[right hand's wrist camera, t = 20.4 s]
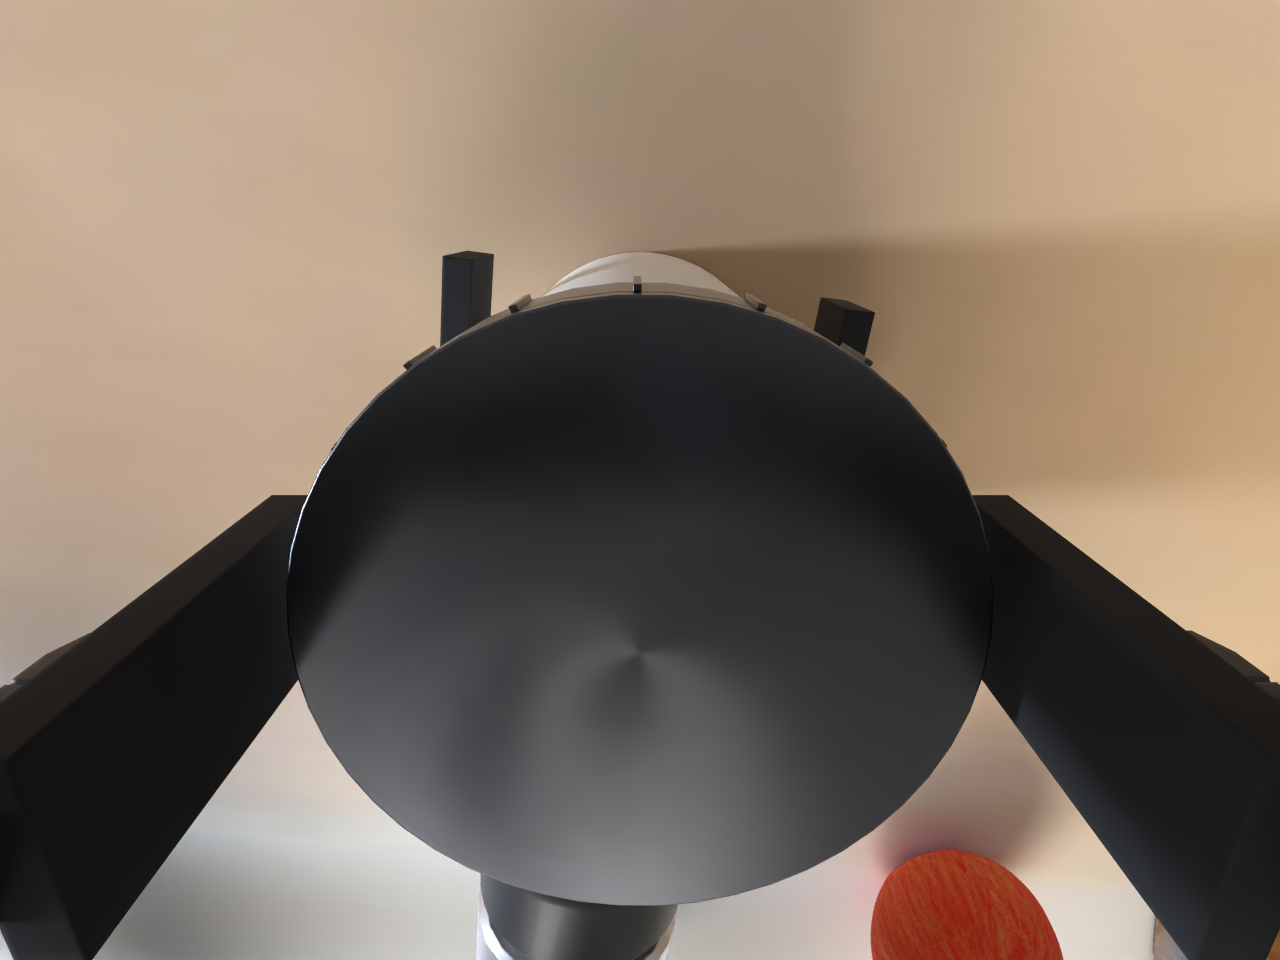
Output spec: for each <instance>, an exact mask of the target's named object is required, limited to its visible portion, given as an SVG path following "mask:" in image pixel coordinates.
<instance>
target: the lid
mask: <svg viewBox="0 0 1280 960" xmlns="http://www.w3.org/2000/svg"><path fill="white" fill-rule="evenodd" d="M872 364H873V362H872V361H871V360H869V359H868V358H866V357H865V356H863V355H862V354H860V353H859V352H857V351H855V350H854V349H852V348H851V347H849V346H847V345H846V344H844V343H842V344H841V345H840V347H839V346H837V345H836V344H834V343H833V342H831V341H830V340H828V339H826V338H825V337H823V336H822V335H820V334H818V333H817V332H815V331H814V330H812V329H810V328H809V327H807V326H806V325H804V324H802V323H801V322H799V321H798V320H795V319H793V318H791V317H789V316H786V315H784V314H782V313H780V312H777V311H775V310H773V309H771V308H768V307H767V305H766V304H765V303H763V302H762V301H761V300H759V299H758V298H756V297H755V296H754V295H752V294H749V293H746V294H745V297H744V298H740V297H737V296H733V295H730V294H726V293H723V292H719V291H716V290H712V289H706V288H699V287H692V286H685V285H678V284H671V283H642V278H641V276H634V281H633V283H632V282H618V283H611V284H603V285H595V286H587V287H580V288H572V289H569V290H565V291H561V292H558V293H554V294H550V295H547V296H543V297H539V298H535V299H531V296H530V294H528V295H525V296H523V297H521V298H520V299H519V300H517V301H516V302H514V303H513V304H511V305H510V306H509V309H507V310H505V311H502V312H500V313H498V314H495V315H493V316H491V317H488V318H486V319H485V320H483V321H481V322H480V323H478V324H476V325H475V326H473V327H471V328H470V329H468V330H466V331H465V332H463V333H461V334H460V335H458V336H456V337H455V338H453V339H451V340H450V341H448V342H447V343H445V344H444V345H442V346H441V347H439V348H438V349H437V348H436V347H435V346H434V345H433V346H432V347H430V348H428V349H427V350H425V351H424V352H422V353H421V354H419V355H417V356H416V357H414V358H413V359H411V360H410V361H408V362H407V363H406V364H404V365H403V366H404V367H405V369H406V370H407V371H405V372H404V373H403V374H402V375H401V376H399V377H398V378H397V379H396V380H394V381H393V382H392V383H391V384H390V385H388V386H387V387H386V388H385V389H383V390H382V391H381V392H380V393H379V394H377V396H376V397H375V398H374V399H373V400H372V401H371V402H370V403H369V404H368V406H367V407H366V408H365V409H364V410H363V411H362V412H361V413H360V414H359V416H358V417H357V418H356V419H355V420H354V421H353V422H352V423H351V424H350V425H349V427H348V428H347V429H346V430H345V431H344V433H343V435H342V436H341V438H340V439H339V441H338V442H337V443H335V444H334V445H333V447H332V449H331V453H330V454H329V456H328V457H327V459H326V460H325V462H324V463H323V465H322V466H321V468H320V470H319V472H318V475H317V477H316V479H315V481H314V483H313V486H312V488H311V490H310V492H309V494H308V497H307V499H306V501H305V503H304V505H303V508H302V511H301V514H300V518H299V522H298V525H297V529H296V533H295V536H294V540H293V543H292V547H291V553H290V562H289V570H288V579H287V588H286V600H287V624H288V635H289V640H290V646H291V651H292V656H293V661H294V666H295V671H296V674H297V677H298V680H299V682H300V685H301V688H302V691H303V694H304V697H305V699H306V702H307V705H308V708H309V710H310V712H311V714H312V716H313V718H314V720H315V721H316V723H317V725H318V727H319V729H320V731H321V733H322V735H323V737H324V739H325V741H326V743H327V744H328V745H329V747H330V748H331V750H332V751H333V753H334V754H335V755H336V757H337V758H338V760H339V761H340V763H341V764H342V766H343V767H344V768H345V770H346V771H347V773H348V774H349V775H350V776H351V777H352V778H353V780H354V781H355V782H356V783H357V784H358V785H359V786H360V787H361V788H362V790H363V791H364V792H365V793H366V794H367V795H368V796H369V797H370V798H371V800H372V801H373V802H374V803H375V804H376V805H378V806H379V807H380V808H381V809H382V810H383V811H384V812H386V813H387V814H388V815H389V816H390V817H391V818H393V819H394V820H395V821H396V822H397V823H398V824H399V825H401V826H402V827H403V828H404V829H406V830H407V831H409V832H410V833H411V834H413V835H414V836H416V837H417V838H419V839H420V840H422V841H423V842H424V843H426V844H427V845H429V846H430V847H432V848H433V849H435V850H436V851H438V852H440V853H442V854H444V855H446V856H447V857H449V858H451V859H453V860H455V861H457V862H458V863H460V864H462V865H464V866H466V867H468V868H470V869H472V870H474V871H477V872H479V873H482V874H484V875H487V876H489V877H491V878H494V879H496V880H499V881H501V882H503V883H506V884H510V885H513V886H516V887H519V888H523V889H526V890H529V891H533V892H536V893H539V894H543V895H548V896H553V897H558V898H563V899H568V900H573V901H578V902H587V903H597V904H607V905H617V906H661V905H672V904H683V903H694V902H701V901H706V900H711V899H717V898H722V897H727V896H732V895H737V894H740V893H743V892H747V891H750V890H754V889H757V888H761V887H764V886H767V885H771V884H774V883H776V882H778V881H781V880H783V879H786V878H788V877H791V876H793V875H796V874H798V873H801V872H803V871H806V870H808V869H810V868H812V867H814V866H816V865H818V864H819V863H821V862H823V861H825V860H827V859H829V858H831V857H833V856H835V855H836V854H838V853H840V852H842V851H843V850H845V849H846V848H848V847H849V846H851V845H852V844H854V843H855V842H857V841H858V840H860V839H861V838H863V837H864V836H866V835H867V834H869V833H870V832H872V831H873V830H874V829H876V828H877V827H878V826H879V825H880V824H881V823H883V822H884V821H885V820H886V819H887V818H888V817H890V816H891V815H892V814H893V813H894V812H895V811H897V810H898V809H899V808H900V807H901V806H903V805H904V803H905V802H906V801H907V800H908V799H909V798H910V797H911V796H912V795H913V794H914V793H915V792H916V790H917V789H918V788H919V787H920V786H921V785H922V784H923V783H924V782H925V781H926V780H927V779H928V778H929V776H930V775H931V774H932V772H933V771H934V769H935V768H936V767H937V765H938V764H939V762H940V761H941V760H942V758H943V757H944V755H945V754H946V753H947V751H948V750H949V748H950V747H951V746H952V744H953V742H954V740H955V738H956V736H957V734H958V733H959V731H960V729H961V727H962V725H963V723H964V721H965V719H966V718H967V716H968V714H969V712H970V710H971V707H972V704H973V701H974V699H975V696H976V693H977V691H978V688H979V685H980V682H981V680H982V677H983V674H984V669H985V665H986V660H987V655H988V650H989V646H990V641H991V636H992V619H993V602H994V592H993V582H992V571H991V561H990V552H989V549H988V545H987V541H986V537H985V533H984V529H983V525H982V521H981V518H980V514H979V511H978V509H977V506H976V504H975V502H974V499H973V497H972V495H971V492H970V490H969V488H968V486H967V483H966V481H965V479H964V476H963V474H962V472H961V470H960V469H959V467H958V466H957V464H956V462H955V461H954V459H953V458H952V456H951V455H950V453H949V451H948V450H947V448H946V447H947V445H946V444H945V442H944V441H943V440H942V439H941V438H940V437H939V436H938V434H937V433H936V432H935V430H934V429H933V428H932V427H931V426H930V425H929V424H928V422H927V421H926V420H925V419H924V418H923V417H922V416H921V414H920V413H919V412H918V411H917V410H916V409H915V408H914V406H913V405H912V404H911V403H910V402H909V401H908V400H907V398H906V397H904V396H903V395H902V394H901V393H900V392H898V391H897V390H896V389H895V388H894V387H893V386H891V385H890V384H889V383H888V382H887V381H885V380H884V379H883V378H882V377H881V376H880V375H878V374H877V373H876V372H875V371H874V370H873V369H871V368H870V366H871V365H872Z"/></svg>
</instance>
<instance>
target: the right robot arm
mask: <svg viewBox="0 0 1280 960" xmlns="http://www.w3.org/2000/svg"><path fill="white" fill-rule="evenodd" d="M307 497H308V495H271V496H270V497H269V498H268V499H266V500H265V501H264V502H262V503H261V504H260V505H258V506H257V507H256V508H254V509H253V510H252V511H250V512H249V513H248V514H247V515H245V516H244V517H243V518H241V519H240V520H239V521H237V522H236V523H235V524H233V525H232V526H231V527H229V528H228V529H227V530H226V531H224V532H223V533H222V534H220V535H219V536H218V537H216V538H215V539H214V540H212V541H211V542H210V543H208V544H207V545H206V546H205V547H203V548H202V549H201V550H199V551H198V552H197V553H195V554H194V555H193V556H191V557H190V558H189V559H187V560H186V561H185V562H184V563H182V564H181V565H180V566H178V567H177V568H176V569H174V570H173V571H172V572H170V573H169V574H168V575H167V576H165V577H164V578H163V579H161V580H160V581H159V582H157V583H156V584H155V585H153V586H152V587H151V588H149V589H148V590H147V591H146V592H144V593H143V594H142V595H140V596H139V597H138V598H136V599H135V600H134V601H132V602H131V603H130V604H128V605H127V606H126V607H125V608H123V609H122V610H121V611H119V612H118V613H117V614H115V615H114V616H113V617H111V618H110V619H109V620H107V621H106V622H105V623H104V624H102V625H101V626H100V627H98V628H97V629H96V630H94V631H93V632H92V633H89V634H87V635H85V636H83V637H81V638H79V639H77V640H75V641H73V642H71V643H68V644H66V645H64V646H62V647H60V648H58V649H56V650H54V651H52V652H50V653H48V654H46V655H45V656H43V657H42V658H41V659H39V660H38V661H37V662H35V663H34V664H32V665H31V666H30V667H28V668H27V669H26V670H24V671H23V672H22V673H20V674H19V675H18V676H16V677H15V678H14V679H12V683H11V685H4V686H3V687H1V688H0V930H1V932H2V934H3V937H4V939H5V941H6V943H7V946H8V948H9V950H10V952H11V955H12V957H13V959H14V960H92V959H93V958H94V956H95V955H96V954H97V952H98V951H99V950H100V948H101V947H102V946H103V944H104V943H105V942H106V940H107V939H108V937H109V936H110V935H111V933H112V932H113V931H114V929H115V928H116V927H117V925H118V924H119V922H120V921H121V920H122V918H123V917H124V916H125V914H126V913H127V912H128V910H129V909H130V908H131V906H132V905H133V903H134V902H135V901H136V899H137V898H138V897H139V895H140V894H141V893H142V891H143V890H144V888H145V887H146V886H147V884H148V883H149V882H150V880H151V879H152V878H153V876H154V875H155V874H156V872H157V871H158V869H159V868H160V867H161V865H162V864H163V863H164V861H165V860H166V859H167V857H168V856H169V854H170V853H171V852H172V850H173V849H174V848H175V846H176V845H177V844H178V842H179V841H180V840H181V838H182V837H183V835H184V834H185V833H186V831H187V830H188V829H189V827H190V826H191V825H192V823H193V822H194V820H195V819H196V818H197V816H198V815H199V814H200V812H201V811H202V810H203V808H204V807H205V806H206V804H207V803H208V801H209V800H210V799H211V797H212V796H213V795H214V793H215V792H216V791H217V789H218V788H219V786H220V785H221V784H222V782H223V781H224V780H225V778H226V777H227V776H228V774H229V773H230V772H231V770H232V769H233V767H234V766H235V765H236V763H237V762H238V761H239V759H240V758H241V757H242V755H243V754H244V752H245V751H246V750H247V748H248V747H249V746H250V744H251V743H252V742H253V740H254V739H255V738H256V736H257V735H258V733H259V732H260V731H261V729H262V728H263V727H264V725H265V724H266V723H267V721H268V720H269V718H270V717H271V716H272V714H273V713H274V712H275V710H276V709H277V708H278V706H279V705H280V704H281V702H282V701H283V699H284V698H285V697H286V695H287V694H288V693H289V691H290V690H291V689H292V687H293V686H294V684H295V683H296V682H297V680H298V677H297V674H296V671H295V666H294V661H293V656H292V651H291V646H290V640H289V635H288V624H287V600H286V588H287V579H288V570H289V562H290V553H291V547H292V543H293V540H294V536H295V533H296V529H297V525H298V522H299V518H300V514H301V511H302V508H303V505H304V503H305V501H306V499H307ZM972 497H973V499H974V502H975V504H976V506H977V509H978V511H979V514H980V518H981V521H982V525H983V529H984V533H985V537H986V541H987V545H988V549H989V552H990V561H991V571H992V582H993V592H994V602H993V619H992V636H991V641H990V646H989V650H988V655H987V660H986V665H985V669H984V674H983V677H982V680H983V682H984V683H985V684H986V686H987V687H988V689H989V690H990V691H991V693H992V694H993V695H994V697H995V698H996V699H997V701H998V702H999V704H1000V705H1001V706H1002V708H1003V709H1004V710H1005V712H1006V713H1007V714H1008V716H1009V717H1010V718H1011V720H1012V721H1013V723H1014V724H1015V725H1016V727H1017V728H1018V729H1019V731H1020V732H1021V733H1022V735H1023V736H1024V738H1025V739H1026V740H1027V742H1028V743H1029V744H1030V746H1031V747H1032V748H1033V750H1034V751H1035V752H1036V754H1037V755H1038V757H1039V758H1040V759H1041V761H1042V762H1043V763H1044V765H1045V766H1046V767H1047V769H1048V770H1049V772H1050V773H1051V774H1052V776H1053V777H1054V778H1055V780H1056V781H1057V782H1058V784H1059V785H1060V786H1061V788H1062V789H1063V791H1064V792H1065V793H1066V795H1067V796H1068V797H1069V799H1070V800H1071V801H1072V803H1073V804H1074V806H1075V807H1076V808H1077V810H1078V811H1079V812H1080V814H1081V815H1082V816H1083V818H1084V819H1085V820H1086V822H1087V823H1088V825H1089V826H1090V827H1091V829H1092V830H1093V831H1094V833H1095V834H1096V835H1097V837H1098V838H1099V840H1100V841H1101V842H1102V844H1103V845H1104V846H1105V848H1106V849H1107V850H1108V852H1109V853H1110V854H1111V856H1112V857H1113V859H1114V860H1115V861H1116V863H1117V864H1118V865H1119V867H1120V868H1121V869H1122V871H1123V872H1124V874H1125V875H1126V876H1127V878H1128V879H1129V880H1130V882H1131V883H1132V884H1133V886H1134V887H1135V888H1136V890H1137V891H1138V893H1139V894H1140V895H1141V897H1142V898H1143V899H1144V901H1145V902H1146V903H1147V905H1148V906H1149V908H1150V909H1151V910H1152V912H1153V913H1154V914H1155V916H1156V917H1157V918H1158V920H1159V921H1160V922H1161V924H1162V925H1163V927H1164V928H1165V929H1166V931H1167V932H1168V933H1169V935H1170V936H1171V937H1172V939H1173V940H1174V942H1175V943H1176V944H1177V946H1178V947H1179V948H1180V950H1181V951H1182V952H1183V954H1184V955H1185V956H1186V958H1187V959H1188V960H1266V959H1267V957H1268V955H1269V952H1270V950H1271V948H1272V946H1273V943H1274V941H1275V939H1276V937H1277V934H1278V932H1279V930H1280V685H1279V684H1278V683H1277V682H1270V680H1269V677H1268V676H1267V675H1266V674H1264V673H1263V672H1262V671H1260V670H1259V669H1258V668H1256V667H1255V666H1253V665H1252V664H1251V663H1249V662H1248V661H1247V660H1245V659H1244V658H1243V657H1241V656H1240V655H1238V654H1237V653H1236V652H1234V651H1232V650H1230V649H1228V648H1226V647H1224V646H1222V645H1220V644H1218V643H1216V642H1214V641H1212V640H1209V639H1207V638H1205V637H1203V636H1201V635H1199V634H1197V633H1195V632H1193V631H1186V630H1184V629H1183V628H1182V627H1180V626H1179V625H1178V624H1176V623H1175V622H1174V621H1173V620H1171V619H1170V618H1169V617H1167V616H1166V615H1165V614H1163V613H1162V612H1161V611H1159V610H1158V609H1157V608H1155V607H1154V606H1153V605H1152V604H1150V603H1149V602H1148V601H1146V600H1145V599H1144V598H1142V597H1141V596H1140V595H1138V594H1137V593H1136V592H1134V591H1133V590H1132V589H1131V588H1129V587H1128V586H1127V585H1125V584H1124V583H1123V582H1121V581H1120V580H1119V579H1117V578H1116V577H1115V576H1113V575H1112V574H1111V573H1110V572H1108V571H1107V570H1106V569H1104V568H1103V567H1102V566H1100V565H1099V564H1098V563H1096V562H1095V561H1094V560H1093V559H1091V558H1090V557H1089V556H1087V555H1086V554H1085V553H1083V552H1082V551H1081V550H1079V549H1078V548H1077V547H1075V546H1074V545H1073V544H1072V543H1070V542H1069V541H1068V540H1066V539H1065V538H1064V537H1062V536H1061V535H1060V534H1058V533H1057V532H1056V531H1054V530H1053V529H1052V528H1051V527H1049V526H1048V525H1047V524H1045V523H1044V522H1043V521H1041V520H1040V519H1039V518H1037V517H1036V516H1035V515H1033V514H1032V513H1031V512H1030V511H1028V510H1027V509H1026V508H1024V507H1023V506H1022V505H1020V504H1019V503H1018V502H1016V501H1015V500H1014V499H1012V498H1011V497H1010V496H1009V495H972Z"/></svg>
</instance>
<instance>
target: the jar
mask: <svg viewBox="0 0 1280 960" xmlns="http://www.w3.org/2000/svg"><path fill="white" fill-rule="evenodd" d="M634 276H641V278H642V283H671V284H678V285H685V286H692V287H699V288H706V289H712V290H716V291H719V292H723V293H726V294H730V295H733V296H737V297H739V296H738V295H737V294H736V293H734V292H733V291H732V290H731V289H730V288H728V287H727V286H726V285H725V284H723V283H722V282H721V281H720V280H718V279H717V278H716V277H715V276H714V275H712V274H710V273H709V272H707V271H705V270H704V269H702V268H700V267H699V266H697V265H694V264H692V263H690V262H687V261H685V260H683V259H679V258H676V257H672V256H668V255H665V254H657V253H649V252H630V253H623V254H616V255H611V256H608V257H604V258H601V259H597V260H594V261H592V262H590V263H588V264H586V265H583V266H581V267H579V268H578V269H576V270H574V271H573V272H571V273H570V274H568V275H566V276H565V277H564V278H562V279H561V280H560V281H559V282H558V283H556V284H555V285H554V286H553V287H551V288H550V289H549V290H548V291H547V292H545V293H544V294H543V295H542V296H541V297H543V296H547V295H550V294H554V293H558V292H561V291H565V290H569V289H572V288H580V287H587V286H595V285H603V284H611V283H618V282H632V283H633V281H634ZM740 298H741V297H740Z"/></svg>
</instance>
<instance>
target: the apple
mask: <svg viewBox="0 0 1280 960" xmlns="http://www.w3.org/2000/svg"><path fill="white" fill-rule="evenodd" d="M871 951H872V957H873V960H1063V956H1062V952H1061V949H1060V946H1059V942H1058V940H1057V937H1056V935H1055V932H1054V930H1053V928H1052V926H1051V924H1050V922H1049V920H1048V918H1047V916H1046V914H1045V912H1044V910H1043V909H1042V907H1041V905H1040V904H1039V902H1038V901H1037V899H1036V898H1035V897H1034V895H1033V894H1032V893H1031V892H1030V890H1029V889H1028V888H1027V887H1026V886H1025V885H1024V884H1023V883H1022V882H1021V881H1020V880H1019V879H1018V878H1017V877H1016V876H1014V875H1013V874H1012V873H1011V872H1010V871H1008V870H1007V869H1005V868H1004V867H1002V866H1001V865H999V864H998V863H996V862H994V861H992V860H990V859H988V858H986V857H983V856H981V855H977V854H973V853H969V852H964V851H959V850H950V849H945V850H938V851H933V852H929V853H925V854H921V855H918V856H916V857H914V858H912V859H910V860H909V861H907V862H906V863H904V864H903V865H901V866H900V867H898V868H896V869H895V870H894V871H893V872H892V873H891V874H890V875H889V876H888V877H887V879H886V880H885V882H884V884H883V885H882V888H881V890H880V892H879V894H878V897H877V900H876V903H875V907H874V911H873V917H872V924H871Z"/></svg>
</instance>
